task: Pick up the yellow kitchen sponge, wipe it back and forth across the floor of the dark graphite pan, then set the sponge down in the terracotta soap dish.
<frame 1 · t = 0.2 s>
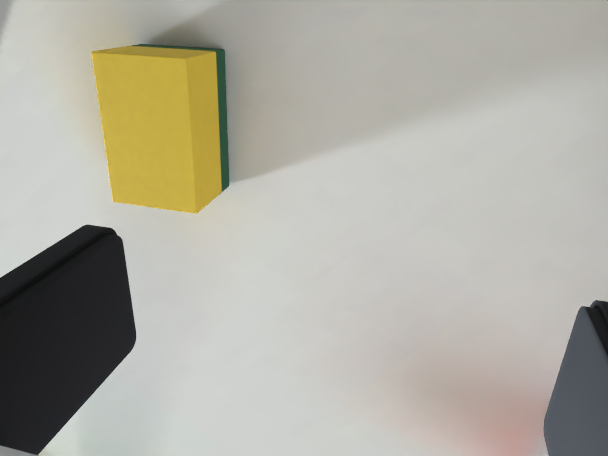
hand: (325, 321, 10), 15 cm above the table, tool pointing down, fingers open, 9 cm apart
sponge: (187, 117, 26), on the table
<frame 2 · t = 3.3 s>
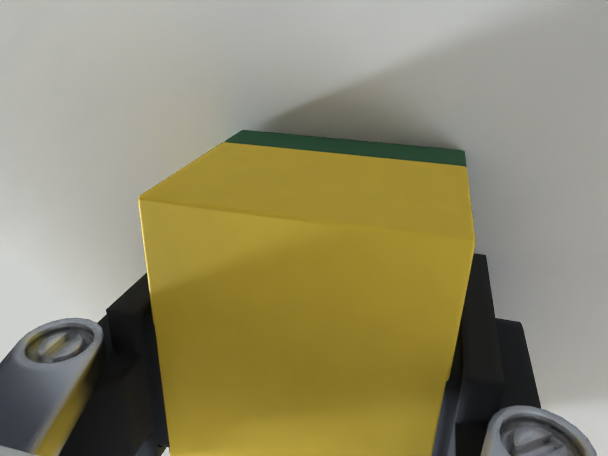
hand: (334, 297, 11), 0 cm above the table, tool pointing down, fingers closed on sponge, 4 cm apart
sponge: (338, 288, 11), on the table, touching gripper
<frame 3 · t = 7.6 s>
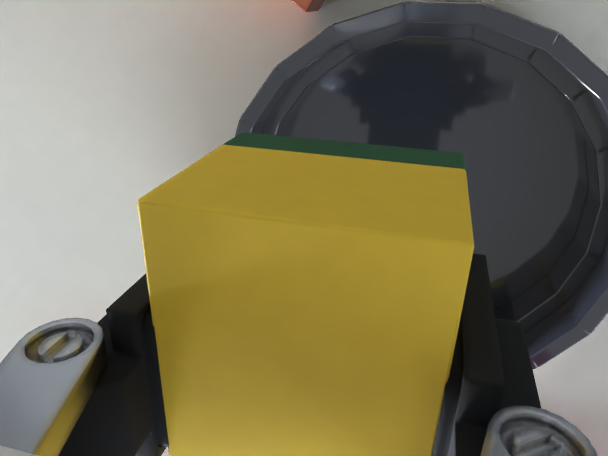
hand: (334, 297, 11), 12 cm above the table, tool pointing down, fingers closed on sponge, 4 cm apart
sponge: (337, 290, 11), point 12 cm above the table, touching gripper
pan: (420, 189, 22), on the table
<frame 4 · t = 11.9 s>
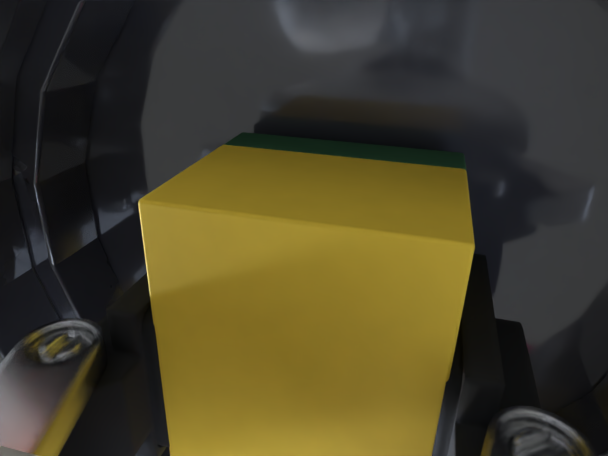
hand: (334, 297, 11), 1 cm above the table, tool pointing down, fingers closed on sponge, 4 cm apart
sponge: (337, 290, 11), point 1 cm above the table, touching gripper
pan: (349, 223, 12), on the table
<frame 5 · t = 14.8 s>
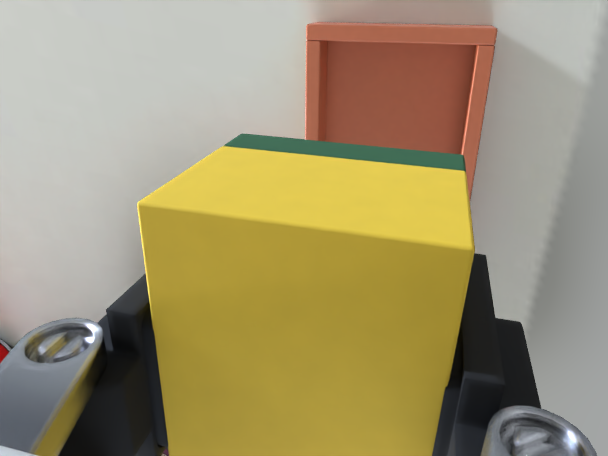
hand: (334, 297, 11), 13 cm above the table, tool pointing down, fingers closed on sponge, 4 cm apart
soap dish: (391, 143, 23), on the table
sponge: (337, 292, 11), point 13 cm above the table, touching gripper
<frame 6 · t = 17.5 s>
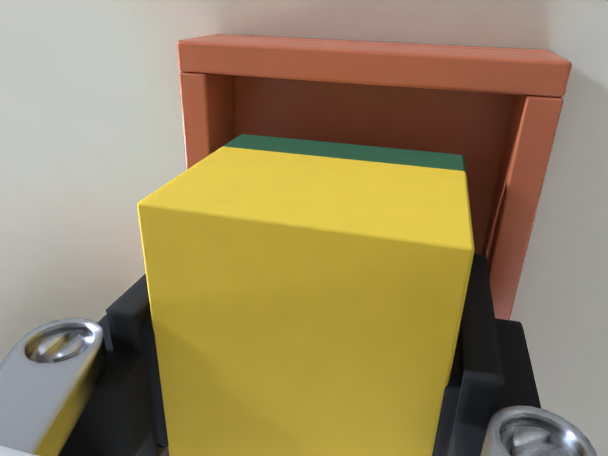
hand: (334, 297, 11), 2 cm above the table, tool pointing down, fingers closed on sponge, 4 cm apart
soap dish: (355, 250, 13), on the table
sponge: (337, 292, 11), point 2 cm above the table, touching gripper
when the fingers open (2 cm above the table, at t = 20.3 s): sponge drops 1 cm, resting on soap dish.
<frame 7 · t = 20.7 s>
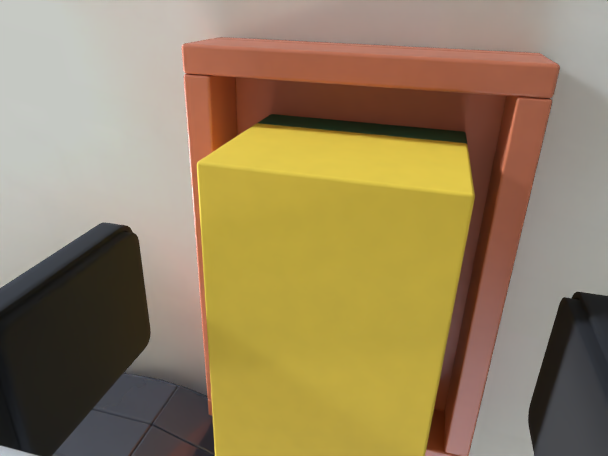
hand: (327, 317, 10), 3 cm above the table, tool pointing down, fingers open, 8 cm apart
soap dish: (353, 247, 13), on the table
sponge: (352, 256, 13), resting on soap dish
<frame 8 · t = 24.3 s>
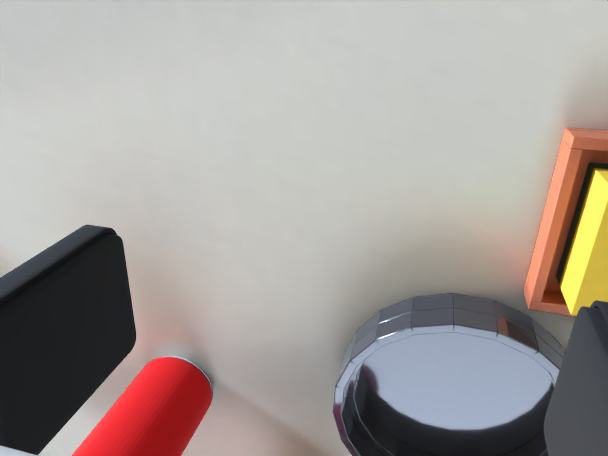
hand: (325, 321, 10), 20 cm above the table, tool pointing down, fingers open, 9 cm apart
beverage can: (183, 377, 41), on the table
pan: (452, 383, 35), on the table
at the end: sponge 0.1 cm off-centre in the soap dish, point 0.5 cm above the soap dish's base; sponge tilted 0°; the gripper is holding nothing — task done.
